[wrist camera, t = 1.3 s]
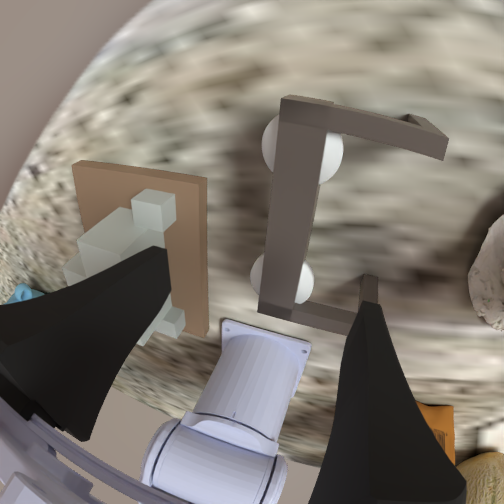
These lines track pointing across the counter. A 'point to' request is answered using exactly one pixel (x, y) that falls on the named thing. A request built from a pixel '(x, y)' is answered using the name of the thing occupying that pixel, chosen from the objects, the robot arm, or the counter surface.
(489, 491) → the cantaloupe
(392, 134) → the bracket with white balls
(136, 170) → the tan board with cubes
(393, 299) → the counter surface
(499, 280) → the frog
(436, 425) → the coffee package
